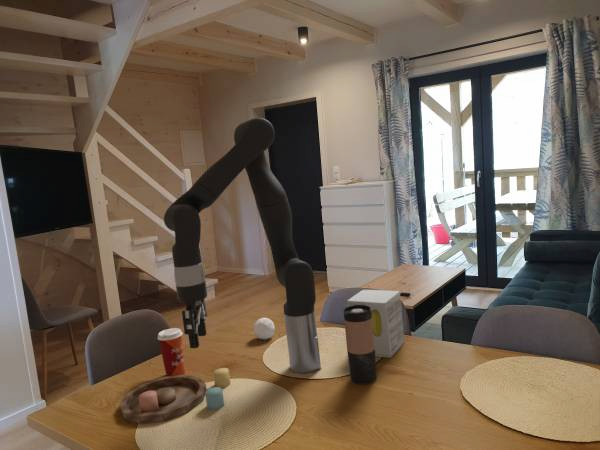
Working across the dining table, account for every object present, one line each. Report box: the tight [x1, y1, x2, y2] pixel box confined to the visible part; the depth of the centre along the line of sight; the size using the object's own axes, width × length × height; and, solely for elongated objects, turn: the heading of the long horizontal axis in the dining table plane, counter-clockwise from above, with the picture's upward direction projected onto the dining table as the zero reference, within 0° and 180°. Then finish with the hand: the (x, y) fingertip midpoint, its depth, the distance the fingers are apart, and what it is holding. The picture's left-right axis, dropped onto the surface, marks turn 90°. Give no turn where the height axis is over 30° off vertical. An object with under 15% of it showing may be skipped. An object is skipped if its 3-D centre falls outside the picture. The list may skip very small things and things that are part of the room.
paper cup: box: [157, 327, 186, 377], centre depth 141 cm, size 8×8×14 cm
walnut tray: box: [119, 374, 208, 425], centre depth 123 cm, size 22×22×3 cm
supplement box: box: [347, 289, 405, 359], centre depth 144 cm, size 13×13×18 cm
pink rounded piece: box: [139, 391, 159, 413], centre depth 117 cm, size 4×4×5 cm
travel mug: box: [343, 305, 378, 385], centre depth 124 cm, size 8×8×20 cm
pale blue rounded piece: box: [205, 386, 225, 411], centre depth 117 cm, size 4×4×5 cm
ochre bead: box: [213, 367, 231, 389], centre depth 129 cm, size 4×4×5 cm
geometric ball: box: [252, 317, 275, 341], centre depth 164 cm, size 8×8×8 cm
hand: (198, 341), depth 118 cm, fingers open, 8 cm apart
